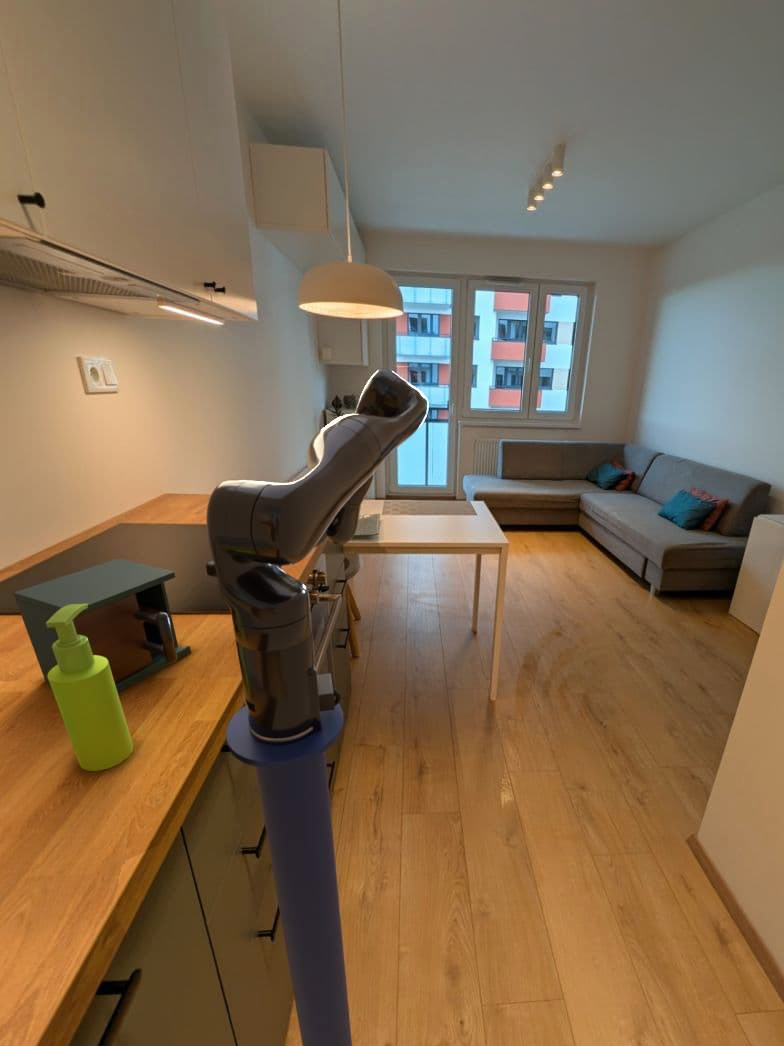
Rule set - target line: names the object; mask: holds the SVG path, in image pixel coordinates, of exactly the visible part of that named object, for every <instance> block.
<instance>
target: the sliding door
mask: <svg viewBox="0 0 784 1046" xmlns="http://www.w3.org/2000/svg"><path fill="white" fill-rule="evenodd" d="M142 621H144V622H148V623H151V624H154V625H158V629H159V633H160V638H161V642H162V646H160V645H157V644H154V643H151V642H148V641H147V638H146V635H145V631H144V627H143V623H142ZM73 623H74V626H75V630H76V633H77V635H83V636H86V637H87V638H88V641H89V644H90V647H91V651H92V654H93V655H98V656H103V657H105V658H106V659H107V660H108V662H109V666H110V669H111V672H112V676H113V679H114V682H115V685H116V684H118V683H120V682H121V681H123V680H125V679H127V678H129V677H131V676H132V675H134V674H136V673H138V672H140V671H142V670H144V669H145V668H147V667H149V666H151V665H153V662H152V658H151V654H150V652H153V653H157V654H160V655H163V656H165V658H166V661H167V662H169V663H171V664H174V663H175V662H177V661H178V660H177V653H176V649H175V645H174V640H173V636H172V631H171V627H170V623H169V618H168V615H167V614H166V613H164V612H161V613H158V614H157V615H152V614H149V613H146V612H142V611H139V607H138V603H137V599H136V595H135V594H133V595H130V596H127V597H125V598H122V599H120V600H117V601H115V602H112V603H110V604H107V605H105V606H102V607H100V608H97V609H95V610H92V611H90V612H87V613H85V614H82V615H80V616H77V617H75V618H74V619H73Z"/></svg>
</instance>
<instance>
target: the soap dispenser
mask: <svg viewBox="0 0 784 1046" xmlns="http://www.w3.org/2000/svg"><path fill="white" fill-rule="evenodd" d="M87 608H88V604H70V605H67V606H65V607H63V608H61V609H60V610H58V611H57V612H56V613H55V614H54V615H53V616H52V617H51V618H50V619H49V620H48V621H47V622H46V625H47V628H50V627H55V628H56V631H57V634H58V637H59V639H58V640H57V641H56V642H54V643H53V645H52V649H53V652H54V655H55V657H56V660H57V663H58V665H56V666H55V667H53V668H52V669H51V670H50V671H49V673H48V680H49V686H50V688H51V691H52V693H53V696H54V699H55V702H56V704H57V707H58V710H59V712H60V716H61V718H62V721H63V724H64V726H65V729H66V732H67V734H68V737H69V741H70V743H71V746H72V748H73V751H74V754H75V756H76V760H77V762H78V765H79V767H80V768H81V769H82V770H84V771H89V772H99V771H104V770H108V769H111V768H113V767H115V766H117V765H120V764H121V763H123V762H124V761H125V760H127V758H129V757H130V755H131V754H132V753H133V752H134V751H133V750H134V744H133V740H132V736H131V733H130V729H129V726H128V723H127V720H126V716H125V713H124V709H123V706H122V703H121V700H120V696H119V693H117V689H116V686H115V682H114V679H113V676H112V672H111V669H110V666H109V662H108V660H107V659H106V658H105V657H103V656H98V655H93V654H92V651H91V647H90V644H89V641H88V638H87V637H86V636H83V635H77V633H76V630H75V626H74V623H73V619H74V618H75V617H76V616H77V615H78V614H79V613H80V612H81V611H83V610H84V609H87Z"/></svg>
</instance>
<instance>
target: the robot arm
mask: <svg viewBox="0 0 784 1046" xmlns="http://www.w3.org/2000/svg"><path fill="white" fill-rule="evenodd" d="M428 411H429V401H428V399H427V397H426V396H425V395H424V393H423V392H422V391H421V390H419V389H418V388H416V386H414V385H412V384H411V383H410V382H408V381H407V380H406V379H404V378H403V377H401V376H400V375H399V374H397V373H396V372H394V371H393V370H391V369H389V368H387V367H383V368H380V369H378V370H377V371H376V372H375V373H373V375H372V376H371V377H370V379H369V380H368V381H367V383H366V385H365V386H364V389H363V391H362V393H361V395H360V398H359V400H358V403H357V406H356V410H355V413H351V414H345V415H343V416H342V415H341V416H339V417H337V418H335V419H334V420H332V421H330V423H329V424H327V425H325V427H323V428H322V429H320V430H319V431H318V432H317V433H316V434H315V435H314V436H313V437H312V439H311V441H310V442H309V444H308V447H307V450H306V466H307V471H308V473H306V474H305V475H304V476H302V477H301V478H299V479H298V480H295V481H292V482H273V481H264V480H263V481H262V480H253V479H246V478H245V479H243V478H231V479H227V480H226V479H225V480H224V481H222V482H219V484H218V485H217V486H215V488H214V489H213V490H212V492H211V494H210V496H209V498H208V502H207V507H206V515H205V517H206V519H205V520H206V522H205V523H206V533H207V539H208V544H209V548H210V552H211V556H212V560H211V561H208V562H207V563H206V564H205V569H206V574H207V576H208V577H213V578H217V582H218V587H219V590H220V593H221V596H222V598H223V600H224V602H225V603H226V604H227V607H229V611H230V614H231V620H232V626H233V632H234V638H235V644H236V645H235V646H236V650H237V657H238V661H239V662H238V663H239V668H240V674H241V681H242V686H243V692H244V693H243V694H242V697H243V702H244V706H245V705H246V708H247V710H248V719H249V727H250V732H251V734H252V736H253V737H254V738H255V739H256V740H258V741H259V742H262V743H265V744H269V745H285V744H291V743H294V742H297V741H300V740H302V739H304V738H306V737H308V736H309V735H311V734H312V733H314V732H319V731H321V730H322V726H321V712H322V711H329V710H335V706H336V705H337V704H340V702H341V699H342V695H341V693H340V692H339V691H338V690H336V689H335V688H334V687H333V681H332V674H331V673H330V672H328V673H322V674H317V665H316V664H317V663H316V653H315V645H314V644H315V643H314V636H313V634H314V633H313V625H312V614H311V613H312V612H311V600H310V599H311V598H310V593H309V590H308V588H307V586H306V585H305V584H304V583H303V582H302V581H300V580H299V579H297V578H295V577H293V576H292V575H291V574H289V573H287V572H285V571H284V570H283V569H282V568H281V567H280V566H291V565H294V564H297V563H300V562H302V561H303V560H304V559H305V558H307V556H308V555H309V554H311V552H312V550H314V549H315V548H317V547H319V546H321V545H322V544H323V543H324V542H326V539H328V540H329V541H330V542H331V543H332V544H334V545H338V546H339V545H340V546H341V545H345V544H347V543H348V542H350V541H351V540H352V539H353V538H354V536H355V535H356V532H357V530H358V527H359V521H360V514H361V509H362V504H363V502H364V500H365V498H366V496H367V494H368V493H369V490H370V489H371V486H372V484H373V481H374V474H375V473H376V471H377V470H378V469H379V468H380V467H381V465H382V464H384V462H385V460H386V459H387V458H388V457H389V456H390V455H391V454H392V453H393V452H394V451H395V450H396V449H398V448H399V447H400V446H401V445H402V444H404V443H405V442H406V441H407V440H409V439H410V438H411V437H412V436H413V435H414V434H415V433H416V432H417V430H418V429H420V427H421V426H422V424H423V423H424V422H425V419H426V417H427V415H428Z"/></svg>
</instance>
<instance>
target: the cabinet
mask: <svg viewBox="0 0 784 1046" xmlns="http://www.w3.org/2000/svg"><path fill="white" fill-rule="evenodd" d="M175 578H176V574H175V571H171V570H169V569H168V570H167V569H164V568H160V567H155V566H153V565H146V564H143V563H139V562H135V561H131V560H127V559H124V558H115V559H113V560H109V561H106V562H102V563H100V564H97V565H93V566H90V567H88V568H84V569H82V570H78V571H76V572H73V573H68V574H66V575H64V576H60V577H57V578H53V579H51V580H47V581H44V582H42V583H39V584H35V585H32V586H29V587H26V588H23V589H20V590H17V591H14V592H13V597H14V599H15V602H16V605H17V607H18V610H19V613H20V616H21V618H22V621H23V624H24V627H25V629H26V632H27V634H28V638H29V640H30V643H31V646H32V648H33V649H32V650H33V652H34V654H35V657H36V659H37V662H38V664H39V667H40V671H41V673H42V676H43V678H44V681H46V682H49V680H48V673H49V671H50V670H51V669H52V668H53V667H55V666H56V665H58V663H57V660H56V657H55V655H54V652H53V649H52V645H53V643H54V642H56V641H57V640H58V639H59V637H58V634H57V631H56V628H55V627H50V628H47V625H46V622H47V621H48V620H49V619H50V618H51V617H52V616H53V615H54V614H55V613H56V612H57V611H58V610H60V609H61V608H63V607H65V606H67V605H70V604H88V608H87V609H84V610H83V611H81V612H80V613H79V614H78V615H77V616H80V615H82V614H85V613H87V612H90V611H92V610H95V609H97V608H100V607H102V606H105V605H107V604H110V603H112V602H115V601H117V600H120V599H122V598H125V597H127V596H130V595H133V594H135V595H136V599H137V603H138V607H139V611H142V612H146V613H149V614H152V615H157V614H158V613H161V612H164V613H166V614H167V615H168V618H169V623H170V627H171V631H172V636H173V640H174V645H175V649H176V653H177V660H176V661H179V660H180V659H181V658H183V657H186V656H187V655H189V654H191V653H192V649H191V646H190V645H186V646H184V647H183V646H180V645H179V644H178V638H177V635H176V629H175V625H174V621H173V617H172V612H171V608H170V604H169V599H168V594H167V590H166V586H165V585H166V584H165V582H168V581H171V580H172V579H175ZM77 616H76V617H77ZM142 623H143V627H144V631H145V635H146V638H147V641H148V642H151V643H154V644H157V645H160V646H162V642H161V638H160V633H159V629H158V625H154V624H151V623H148V622H144V621H142ZM150 654H151V658H152V662H153V665H151V666H149V667H147V668H145V669H144V670H142V671H140V672H138V673H136V674H134V675H132V676H131V677H129V678H127V679H125V680H123V681H121V682H120V683H118V684H116V685H115V686H116V689H117V693H118V694H119V693H121V692H123V691H125V690H126V689H128V688H130V687H132V686H134V685H136V684H137V683H139V682H141V681H142V680H145V679H147V678H148V677H150V676H151V675H153V674H155V673H157V672H159V671H160V670H162V669H163V668H165V667H167V666H169V665H172V663H169V662H167V661H166V658H165V656H163V655H160V654H157V653H153V652H150ZM49 683H50V682H49Z"/></svg>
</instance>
